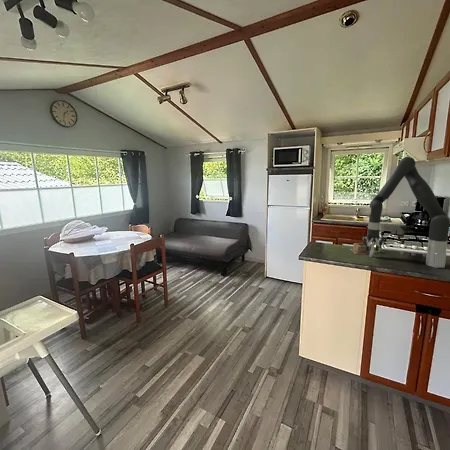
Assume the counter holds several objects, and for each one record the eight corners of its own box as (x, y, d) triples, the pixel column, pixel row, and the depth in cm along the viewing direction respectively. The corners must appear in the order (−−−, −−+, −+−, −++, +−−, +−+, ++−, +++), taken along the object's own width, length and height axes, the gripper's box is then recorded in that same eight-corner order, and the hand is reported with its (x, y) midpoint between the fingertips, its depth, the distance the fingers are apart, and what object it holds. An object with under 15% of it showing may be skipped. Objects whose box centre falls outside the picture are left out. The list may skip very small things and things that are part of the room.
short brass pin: (378, 253, 192) (379, 245, 191) (374, 252, 193) (375, 245, 192) (377, 251, 195) (377, 244, 194) (372, 251, 196) (373, 244, 195)
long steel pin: (374, 257, 183) (376, 241, 180) (370, 257, 183) (371, 241, 181) (372, 256, 186) (374, 240, 183) (368, 256, 186) (369, 240, 184)
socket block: (372, 254, 189) (373, 246, 188) (356, 254, 190) (356, 246, 189) (366, 250, 200) (366, 242, 199) (350, 249, 202) (350, 242, 201)
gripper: (365, 229, 178) (363, 252, 181) (387, 229, 176) (385, 252, 179) (361, 227, 185) (359, 249, 188) (382, 227, 183) (380, 249, 186)
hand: (372, 250), depth 183 cm, fingers open, 5 cm apart
